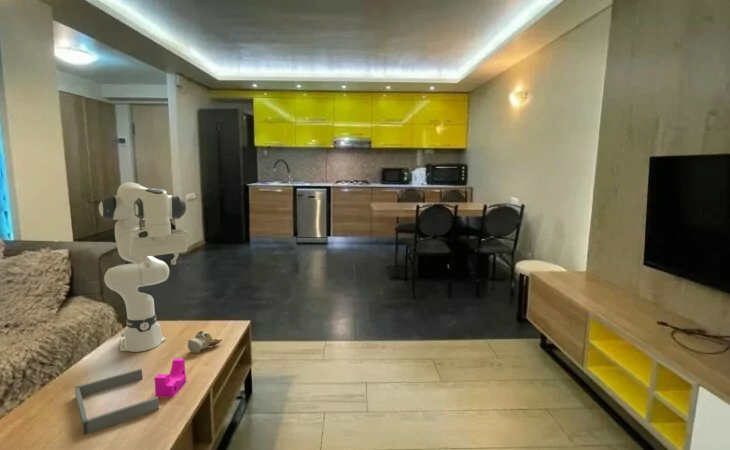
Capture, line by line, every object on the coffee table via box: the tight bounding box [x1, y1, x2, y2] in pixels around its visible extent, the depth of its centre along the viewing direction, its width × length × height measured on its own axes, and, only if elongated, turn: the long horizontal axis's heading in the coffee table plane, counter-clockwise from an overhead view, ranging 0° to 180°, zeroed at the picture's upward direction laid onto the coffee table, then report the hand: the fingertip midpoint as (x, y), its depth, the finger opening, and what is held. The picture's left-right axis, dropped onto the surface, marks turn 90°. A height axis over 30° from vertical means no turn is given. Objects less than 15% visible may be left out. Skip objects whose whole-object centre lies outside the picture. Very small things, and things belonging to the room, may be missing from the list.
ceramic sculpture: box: [187, 330, 223, 354], centre depth 185 cm, size 11×9×15 cm
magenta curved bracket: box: [154, 357, 187, 398], centre depth 154 cm, size 15×6×8 cm, turn 178°
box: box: [74, 368, 160, 435], centre depth 143 cm, size 26×21×4 cm
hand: (160, 266), depth 158 cm, fingers open, 8 cm apart
